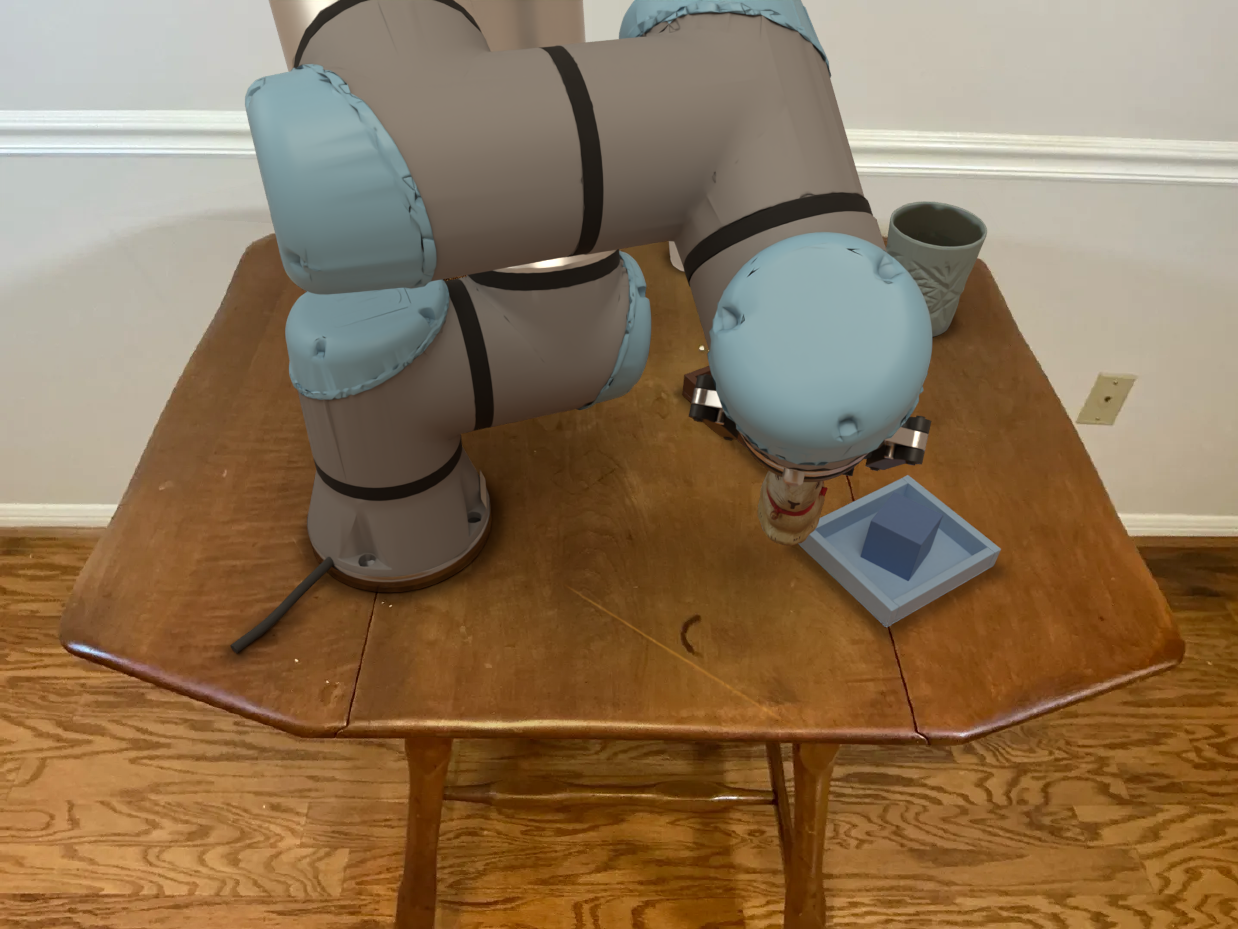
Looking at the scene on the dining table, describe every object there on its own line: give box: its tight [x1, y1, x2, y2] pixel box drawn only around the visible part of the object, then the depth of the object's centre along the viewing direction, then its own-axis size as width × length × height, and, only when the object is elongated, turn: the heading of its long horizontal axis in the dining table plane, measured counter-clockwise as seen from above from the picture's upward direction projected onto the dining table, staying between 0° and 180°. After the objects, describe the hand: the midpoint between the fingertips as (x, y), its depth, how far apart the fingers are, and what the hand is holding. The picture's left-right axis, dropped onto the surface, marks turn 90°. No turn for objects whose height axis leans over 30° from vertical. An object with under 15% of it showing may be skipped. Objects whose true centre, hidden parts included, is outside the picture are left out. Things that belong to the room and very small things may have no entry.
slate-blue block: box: [860, 492, 943, 581], centre depth 79 cm, size 4×4×4 cm
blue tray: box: [798, 474, 1002, 628], centre depth 80 cm, size 13×11×3 cm
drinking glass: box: [885, 201, 988, 338], centre depth 105 cm, size 10×10×12 cm
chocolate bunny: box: [757, 470, 829, 547], centre depth 65 cm, size 6×8×10 cm
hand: (802, 445), depth 69 cm, fingers closed on chocolate bunny, 3 cm apart
